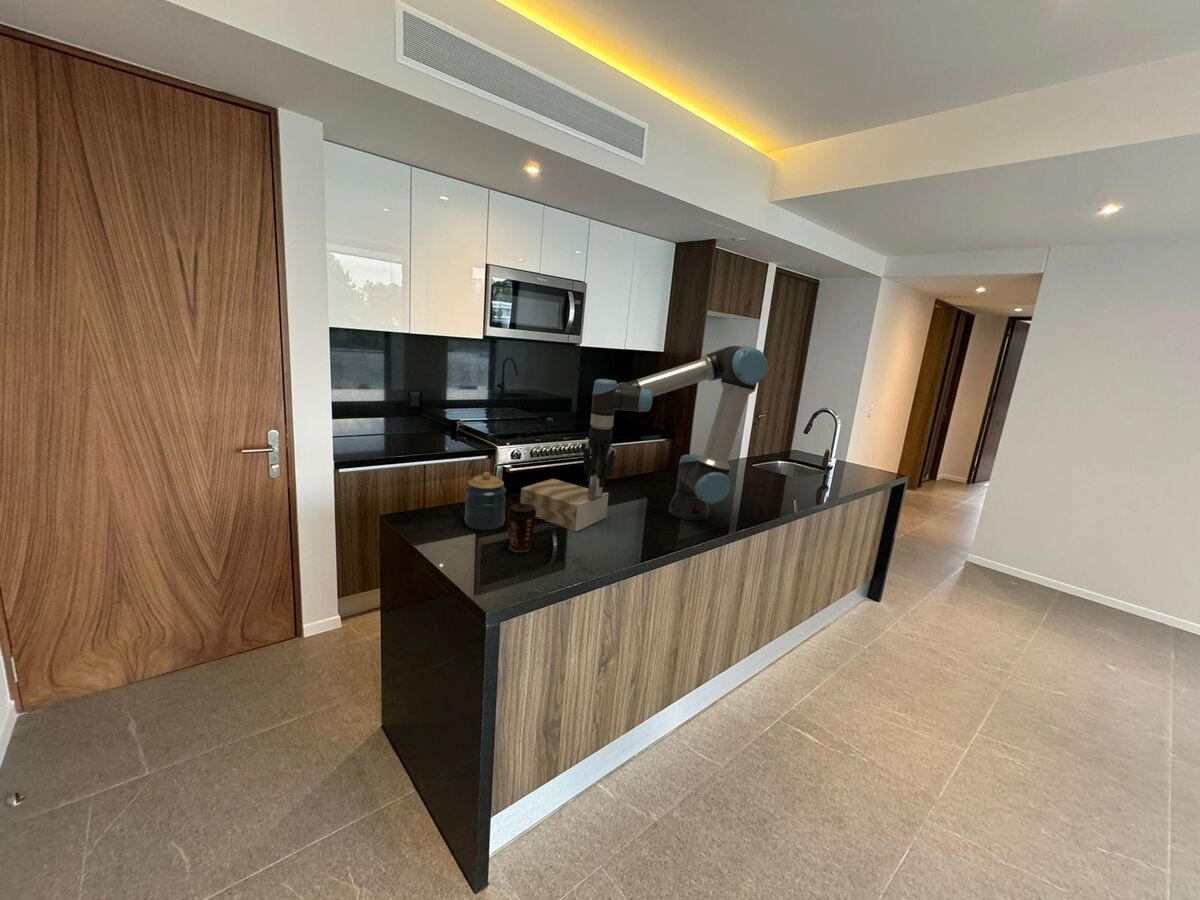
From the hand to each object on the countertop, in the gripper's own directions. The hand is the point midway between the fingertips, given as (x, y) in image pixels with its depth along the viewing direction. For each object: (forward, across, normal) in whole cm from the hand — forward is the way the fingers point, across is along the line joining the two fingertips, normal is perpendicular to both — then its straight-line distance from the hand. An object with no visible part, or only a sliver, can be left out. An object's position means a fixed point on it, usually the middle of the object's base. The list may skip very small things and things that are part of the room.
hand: (595, 494), depth 170 cm
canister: (+11, -26, -25) cm, 38 cm away
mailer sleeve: (+11, -13, 0) cm, 17 cm away
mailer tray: (+11, -11, 0) cm, 16 cm away
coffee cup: (+11, -5, -31) cm, 33 cm away
